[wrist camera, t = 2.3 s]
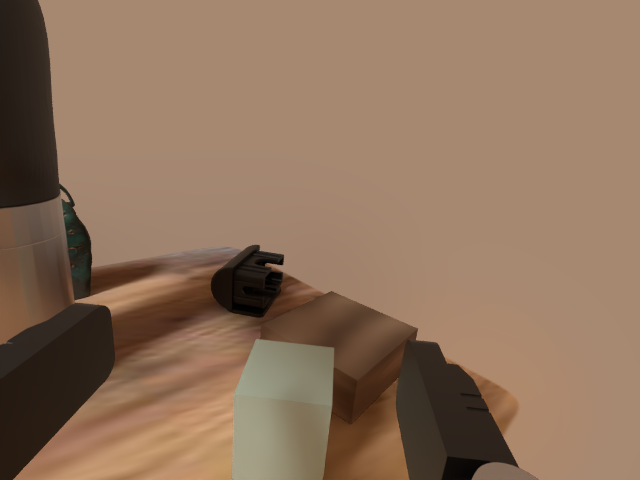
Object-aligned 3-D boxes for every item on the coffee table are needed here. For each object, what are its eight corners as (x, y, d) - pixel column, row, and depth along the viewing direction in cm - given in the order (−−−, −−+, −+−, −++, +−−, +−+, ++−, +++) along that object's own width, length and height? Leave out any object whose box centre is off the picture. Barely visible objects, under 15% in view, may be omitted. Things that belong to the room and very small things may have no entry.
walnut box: (259, 365, 39) (261, 324, 38) (327, 325, 48) (331, 291, 47) (350, 427, 32) (357, 380, 31) (410, 367, 41) (417, 328, 40)
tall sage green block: (231, 519, 24) (234, 394, 21) (251, 447, 29) (256, 339, 26) (316, 530, 24) (332, 405, 20) (321, 455, 29) (334, 347, 26)
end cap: (239, 282, 58) (240, 241, 56) (282, 289, 57) (285, 248, 55) (210, 311, 48) (209, 264, 46) (260, 320, 47) (262, 273, 45)
